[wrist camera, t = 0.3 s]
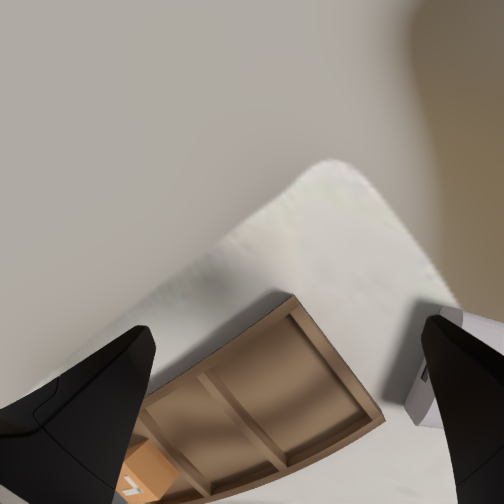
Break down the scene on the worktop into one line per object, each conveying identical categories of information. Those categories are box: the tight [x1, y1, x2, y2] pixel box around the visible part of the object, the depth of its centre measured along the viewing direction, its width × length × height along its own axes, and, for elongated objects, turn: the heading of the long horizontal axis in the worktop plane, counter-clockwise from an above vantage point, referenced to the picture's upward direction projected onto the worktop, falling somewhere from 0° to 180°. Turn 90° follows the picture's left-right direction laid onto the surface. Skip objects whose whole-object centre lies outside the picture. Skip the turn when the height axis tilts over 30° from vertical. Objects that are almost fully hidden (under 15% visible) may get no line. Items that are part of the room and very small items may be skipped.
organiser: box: [128, 295, 386, 504], centre depth 22 cm, size 13×28×2 cm, turn 128°
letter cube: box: [116, 439, 180, 504], centre depth 21 cm, size 5×5×5 cm
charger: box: [405, 306, 504, 429], centre depth 16 cm, size 5×9×15 cm
